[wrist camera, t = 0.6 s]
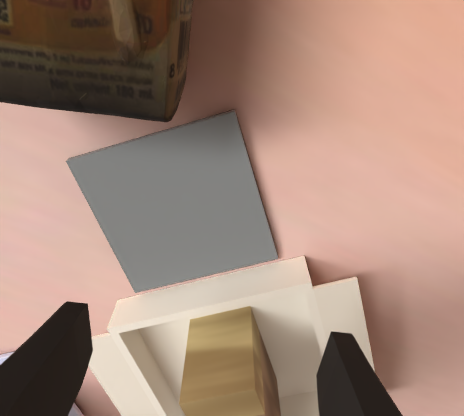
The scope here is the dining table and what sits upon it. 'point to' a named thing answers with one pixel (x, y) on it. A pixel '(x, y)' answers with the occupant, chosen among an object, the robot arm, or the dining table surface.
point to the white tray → (216, 301)
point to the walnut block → (228, 368)
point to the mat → (178, 202)
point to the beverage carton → (95, 55)
